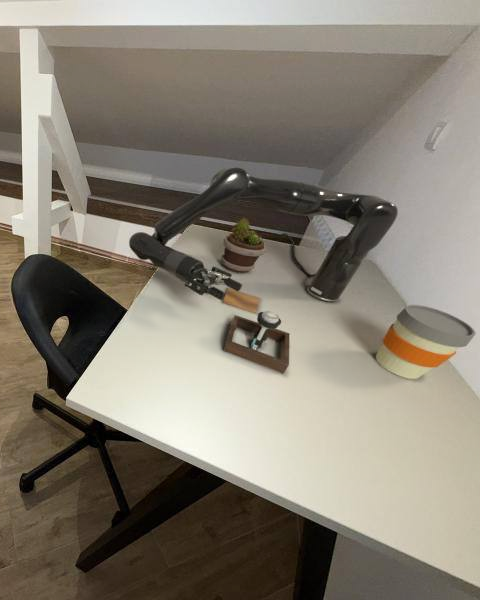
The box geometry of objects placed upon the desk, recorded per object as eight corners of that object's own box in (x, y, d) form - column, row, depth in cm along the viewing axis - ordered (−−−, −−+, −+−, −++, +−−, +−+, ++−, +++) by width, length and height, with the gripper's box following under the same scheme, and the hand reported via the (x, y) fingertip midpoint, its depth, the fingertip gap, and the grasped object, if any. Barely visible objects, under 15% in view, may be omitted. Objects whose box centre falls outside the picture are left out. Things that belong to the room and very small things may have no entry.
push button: (262, 357, 79) (279, 326, 73) (240, 347, 82) (255, 317, 76) (268, 344, 83) (285, 314, 78) (248, 335, 86) (262, 306, 80)
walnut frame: (231, 323, 90) (234, 314, 89) (284, 341, 85) (289, 333, 83) (223, 350, 80) (227, 341, 78) (283, 373, 75) (289, 365, 73)
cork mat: (227, 289, 106) (227, 288, 106) (258, 298, 103) (259, 297, 102) (222, 302, 99) (223, 301, 99) (256, 313, 95) (256, 312, 95)
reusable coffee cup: (428, 366, 81) (474, 321, 72) (430, 393, 73) (481, 346, 64) (369, 342, 87) (404, 298, 79) (364, 364, 80) (403, 318, 71)
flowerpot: (250, 261, 126) (271, 213, 115) (259, 279, 114) (283, 227, 103) (213, 255, 128) (230, 208, 117) (218, 272, 116) (237, 221, 105)
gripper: (171, 261, 87) (222, 287, 77) (200, 250, 95) (250, 273, 85) (164, 283, 91) (213, 311, 81) (193, 272, 99) (240, 296, 89)
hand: (232, 292), depth 83 cm, fingers open, 8 cm apart
